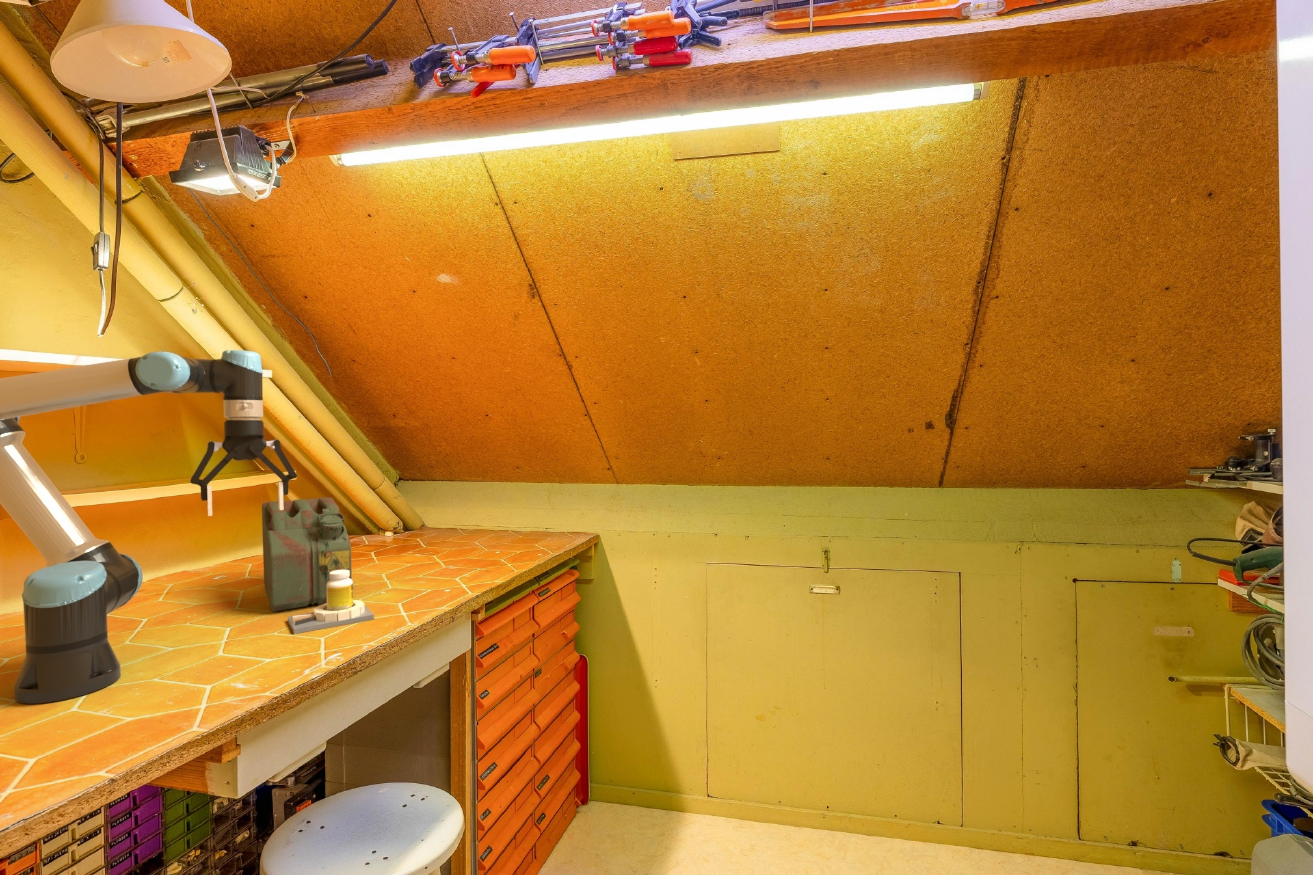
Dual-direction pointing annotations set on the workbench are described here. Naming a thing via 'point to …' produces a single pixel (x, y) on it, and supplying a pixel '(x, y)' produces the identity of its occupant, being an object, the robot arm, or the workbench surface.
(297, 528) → the fuel can
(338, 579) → the pill bottle
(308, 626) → the junction plate
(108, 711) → the workbench surface
